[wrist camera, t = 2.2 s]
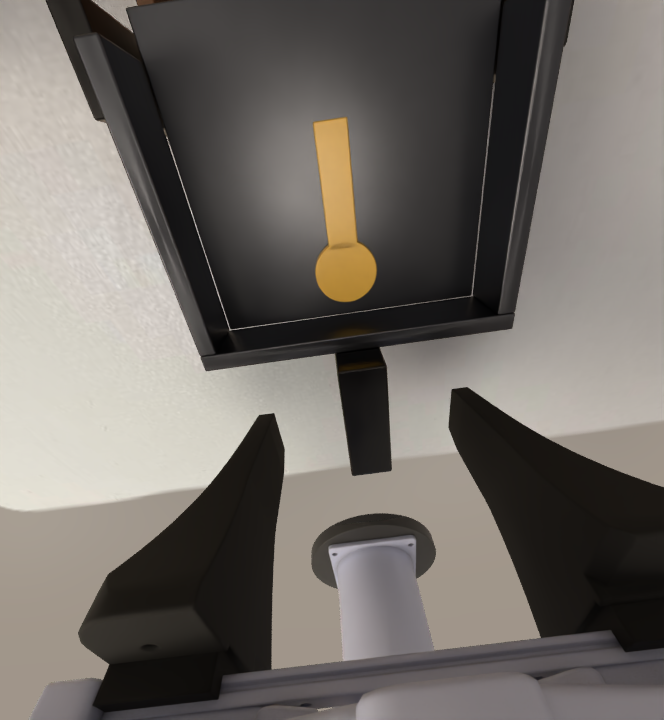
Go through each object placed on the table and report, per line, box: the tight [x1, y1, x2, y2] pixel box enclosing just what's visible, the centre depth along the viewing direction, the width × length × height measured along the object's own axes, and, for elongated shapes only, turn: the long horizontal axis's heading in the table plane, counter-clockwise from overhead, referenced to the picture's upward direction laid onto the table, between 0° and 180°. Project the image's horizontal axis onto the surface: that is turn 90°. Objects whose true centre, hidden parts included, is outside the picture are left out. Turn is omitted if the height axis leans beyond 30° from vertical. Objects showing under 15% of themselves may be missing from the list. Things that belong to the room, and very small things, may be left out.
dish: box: [73, 0, 572, 476], centre depth 10 cm, size 15×11×4 cm
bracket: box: [46, 0, 574, 136], centre depth 9 cm, size 2×13×4 cm, turn 98°
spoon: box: [313, 117, 377, 302], centre depth 10 cm, size 6×2×1 cm, turn 7°
